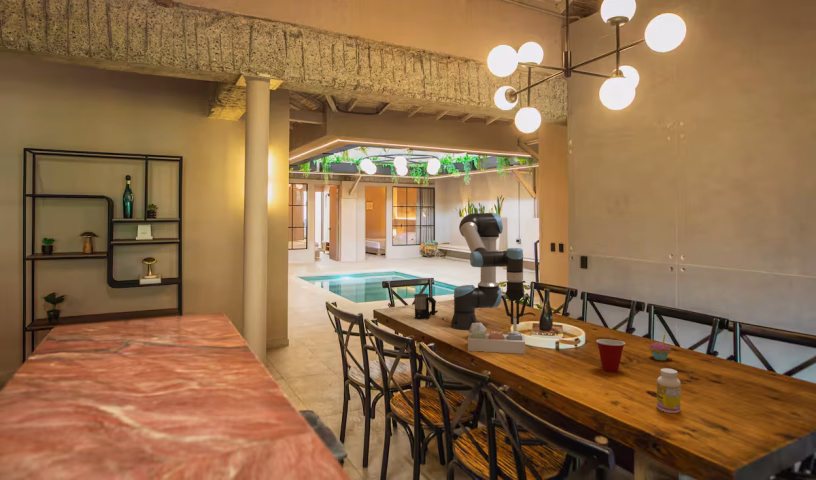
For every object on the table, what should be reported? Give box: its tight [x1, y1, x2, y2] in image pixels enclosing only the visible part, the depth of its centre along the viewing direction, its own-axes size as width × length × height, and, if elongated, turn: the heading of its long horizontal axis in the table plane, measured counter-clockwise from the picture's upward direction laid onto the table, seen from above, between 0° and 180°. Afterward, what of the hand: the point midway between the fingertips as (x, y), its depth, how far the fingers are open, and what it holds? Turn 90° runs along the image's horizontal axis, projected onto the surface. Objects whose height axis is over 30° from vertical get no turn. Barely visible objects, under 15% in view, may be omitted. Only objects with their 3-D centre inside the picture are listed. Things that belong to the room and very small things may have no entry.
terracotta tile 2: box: [489, 330, 504, 340], centre depth 217 cm, size 6×6×4 cm
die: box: [468, 322, 488, 334], centre depth 237 cm, size 8×9×10 cm
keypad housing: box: [467, 333, 526, 355], centre depth 217 cm, size 12×26×6 cm, turn 78°
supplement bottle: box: [656, 367, 682, 414], centre depth 147 cm, size 7×7×13 cm
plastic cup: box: [595, 338, 626, 373], centre depth 185 cm, size 11×11×12 cm
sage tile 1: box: [472, 331, 486, 339], centre depth 219 cm, size 6×6×4 cm
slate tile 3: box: [507, 331, 523, 340], centre depth 215 cm, size 6×6×4 cm
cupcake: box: [648, 331, 672, 361], centre depth 199 cm, size 9×8×12 cm
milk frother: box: [413, 293, 439, 320], centre depth 287 cm, size 14×16×15 cm
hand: (514, 330), depth 215 cm, fingers closed
